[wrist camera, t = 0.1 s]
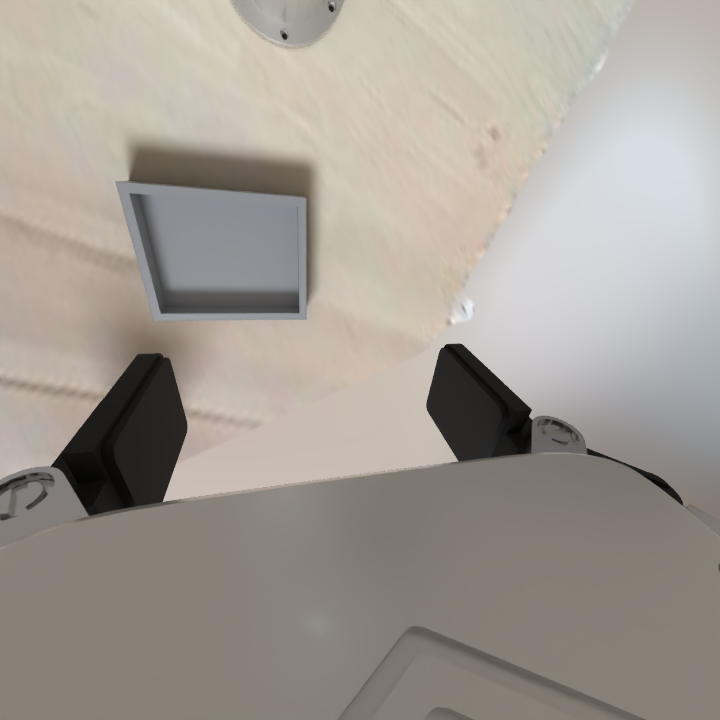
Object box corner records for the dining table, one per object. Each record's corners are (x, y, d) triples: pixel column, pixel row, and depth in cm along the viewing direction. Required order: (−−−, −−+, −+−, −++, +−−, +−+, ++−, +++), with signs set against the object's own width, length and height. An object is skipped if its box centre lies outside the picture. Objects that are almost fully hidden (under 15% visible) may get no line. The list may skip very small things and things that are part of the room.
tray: (128, 180, 35) (115, 181, 32) (304, 195, 40) (306, 197, 37) (162, 310, 43) (154, 320, 40) (304, 310, 48) (306, 319, 45)
